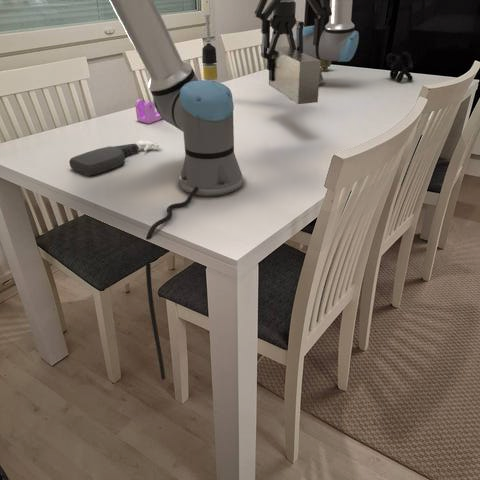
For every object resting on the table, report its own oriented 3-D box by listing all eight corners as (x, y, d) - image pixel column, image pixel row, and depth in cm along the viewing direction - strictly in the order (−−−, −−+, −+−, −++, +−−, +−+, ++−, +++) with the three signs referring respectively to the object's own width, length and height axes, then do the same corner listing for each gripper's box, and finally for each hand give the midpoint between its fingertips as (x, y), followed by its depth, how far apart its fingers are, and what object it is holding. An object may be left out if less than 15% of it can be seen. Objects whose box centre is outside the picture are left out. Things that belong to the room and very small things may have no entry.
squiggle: (400, 92, 202) (376, 71, 205) (417, 76, 202) (392, 56, 205) (405, 81, 191) (380, 59, 194) (423, 64, 191) (397, 42, 194)
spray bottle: (67, 168, 120) (139, 144, 136) (91, 178, 114) (163, 151, 130) (65, 157, 118) (137, 134, 134) (89, 167, 112) (162, 142, 128)
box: (317, 102, 132) (320, 60, 126) (297, 104, 131) (299, 62, 125) (286, 83, 153) (287, 46, 147) (268, 84, 152) (269, 47, 145)
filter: (220, 99, 177) (217, 15, 161) (206, 100, 176) (202, 16, 160) (215, 96, 182) (212, 14, 166) (202, 97, 180) (197, 14, 164)
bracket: (148, 123, 152) (145, 102, 148) (137, 120, 155) (134, 100, 151) (175, 114, 161) (173, 94, 157) (164, 111, 164) (162, 92, 160)
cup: (314, 71, 219) (315, 53, 215) (319, 68, 225) (320, 51, 220) (329, 72, 216) (330, 54, 212) (333, 69, 222) (335, 52, 217)
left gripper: (339, -48, 113) (330, 42, 124) (242, -48, 109) (243, 46, 120) (350, -49, 107) (340, 46, 118) (249, -49, 103) (248, 50, 114)
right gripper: (307, -2, 141) (303, 74, 154) (249, 1, 137) (250, 79, 149) (317, 0, 135) (312, 79, 148) (257, 3, 131) (257, 84, 143)
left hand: (291, 46), depth 119 cm, fingers open, 13 cm apart
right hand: (281, 79), depth 148 cm, fingers closed on box, 6 cm apart
